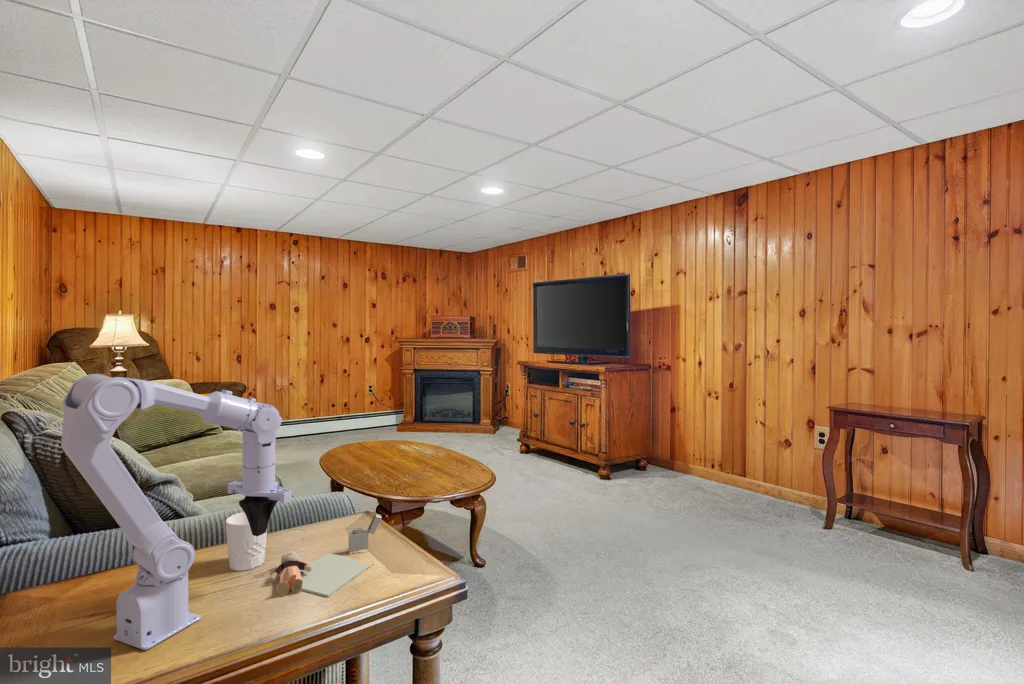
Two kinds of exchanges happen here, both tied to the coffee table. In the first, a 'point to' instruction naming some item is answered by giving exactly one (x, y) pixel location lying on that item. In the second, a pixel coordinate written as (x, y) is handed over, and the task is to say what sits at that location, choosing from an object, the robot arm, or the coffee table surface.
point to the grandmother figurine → (290, 573)
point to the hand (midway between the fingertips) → (259, 533)
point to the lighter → (362, 535)
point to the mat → (330, 574)
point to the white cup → (244, 544)
